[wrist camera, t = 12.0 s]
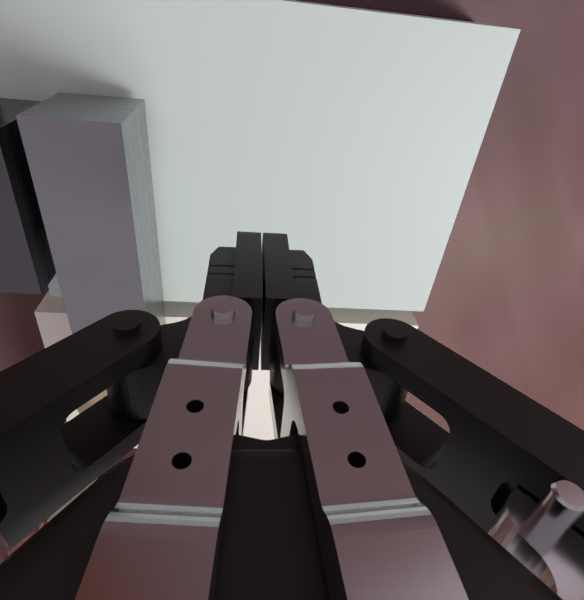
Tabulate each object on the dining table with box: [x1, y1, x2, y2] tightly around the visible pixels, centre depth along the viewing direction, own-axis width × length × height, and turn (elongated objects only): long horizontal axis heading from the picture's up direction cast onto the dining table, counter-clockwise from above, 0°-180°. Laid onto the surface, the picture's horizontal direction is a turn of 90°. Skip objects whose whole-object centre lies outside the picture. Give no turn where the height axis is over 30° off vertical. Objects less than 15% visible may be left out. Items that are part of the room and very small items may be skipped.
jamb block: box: [34, 291, 418, 448], centre depth 28 cm, size 20×11×4 cm, turn 84°
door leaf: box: [0, 0, 521, 311], centre depth 20 cm, size 19×13×4 cm
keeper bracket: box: [0, 98, 56, 294], centre depth 16 cm, size 2×6×4 cm, turn 174°
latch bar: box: [16, 92, 166, 414], centre depth 19 cm, size 14×4×4 cm, turn 175°
